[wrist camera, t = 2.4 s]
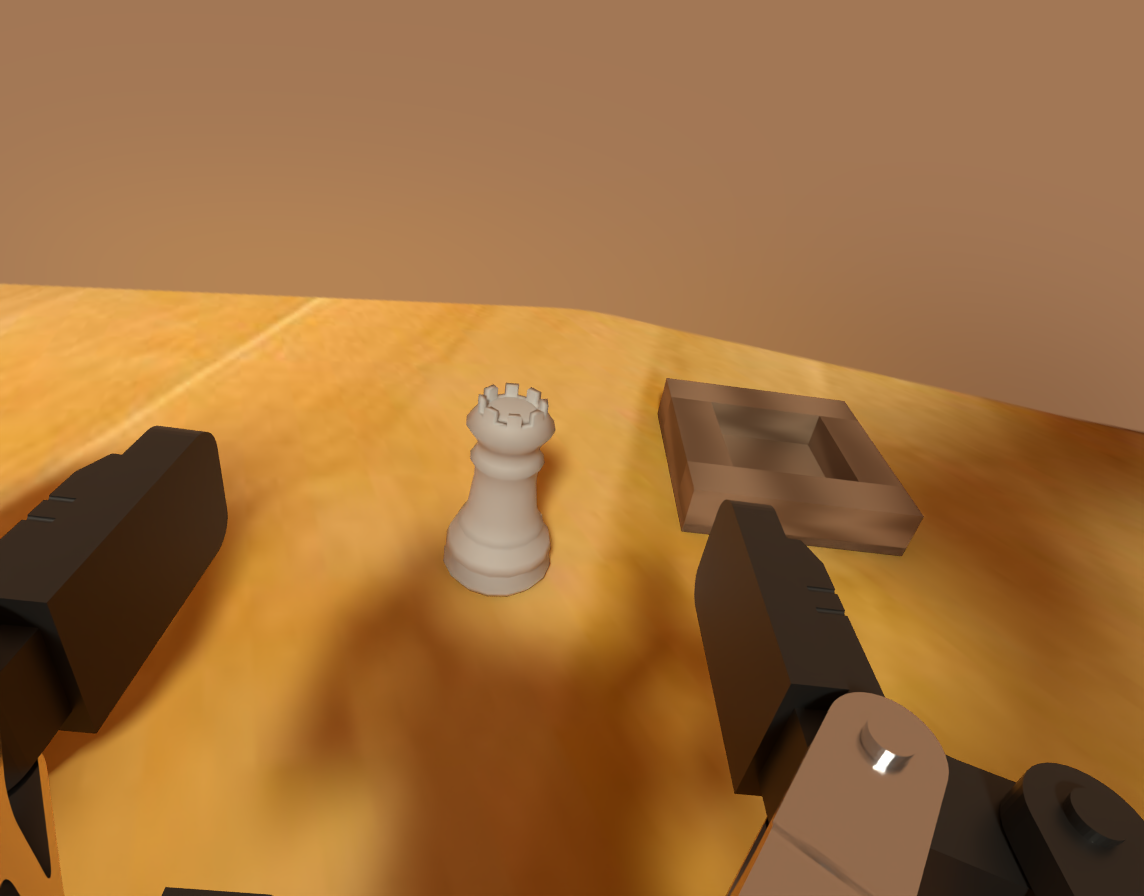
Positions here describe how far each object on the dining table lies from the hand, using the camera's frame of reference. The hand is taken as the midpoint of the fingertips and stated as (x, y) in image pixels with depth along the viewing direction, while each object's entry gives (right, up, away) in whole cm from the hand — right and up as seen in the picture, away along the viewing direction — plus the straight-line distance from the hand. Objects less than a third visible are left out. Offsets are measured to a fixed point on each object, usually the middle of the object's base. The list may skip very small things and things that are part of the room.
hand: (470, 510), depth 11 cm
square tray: (+12, -1, +26) cm, 29 cm away
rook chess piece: (-2, -4, +18) cm, 18 cm away
